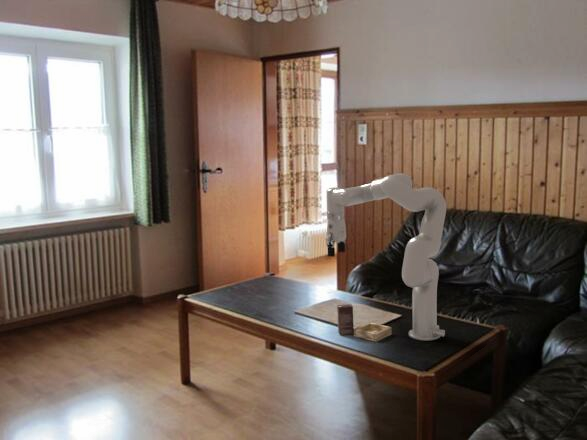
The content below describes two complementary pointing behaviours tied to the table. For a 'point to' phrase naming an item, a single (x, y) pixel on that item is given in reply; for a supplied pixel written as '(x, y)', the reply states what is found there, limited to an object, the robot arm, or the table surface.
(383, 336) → the housing
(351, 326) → the box
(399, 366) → the table surface
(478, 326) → the table surface
